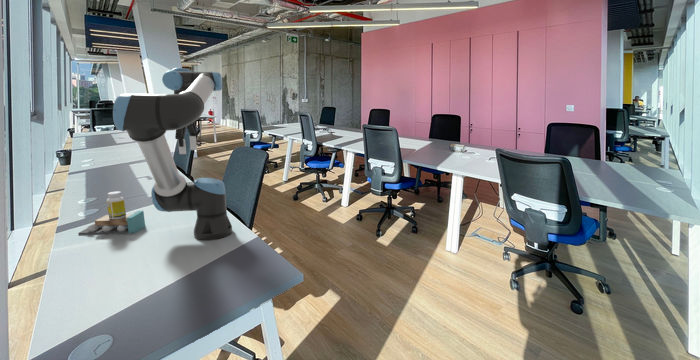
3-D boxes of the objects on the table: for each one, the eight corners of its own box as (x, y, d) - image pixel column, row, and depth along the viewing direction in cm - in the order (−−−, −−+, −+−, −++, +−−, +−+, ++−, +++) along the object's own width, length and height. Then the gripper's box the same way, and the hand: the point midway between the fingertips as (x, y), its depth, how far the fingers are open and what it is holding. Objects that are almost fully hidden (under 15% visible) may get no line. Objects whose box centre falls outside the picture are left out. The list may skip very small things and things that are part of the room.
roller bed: (145, 225, 161) (143, 210, 160) (133, 233, 151) (131, 217, 150) (93, 226, 159) (91, 211, 158) (78, 234, 150) (75, 218, 148)
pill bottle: (129, 215, 158) (126, 190, 155) (120, 219, 151) (117, 194, 149) (114, 215, 157) (111, 190, 155) (105, 219, 151) (102, 194, 149)
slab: (137, 218, 159) (136, 214, 159) (127, 224, 151) (127, 220, 151) (106, 219, 158) (105, 214, 158) (95, 225, 150) (94, 220, 150)
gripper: (186, 104, 173) (189, 148, 177) (163, 104, 148) (168, 155, 153) (202, 104, 173) (205, 148, 178) (182, 104, 149) (186, 155, 153)
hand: (188, 151), depth 165 cm, fingers open, 13 cm apart
